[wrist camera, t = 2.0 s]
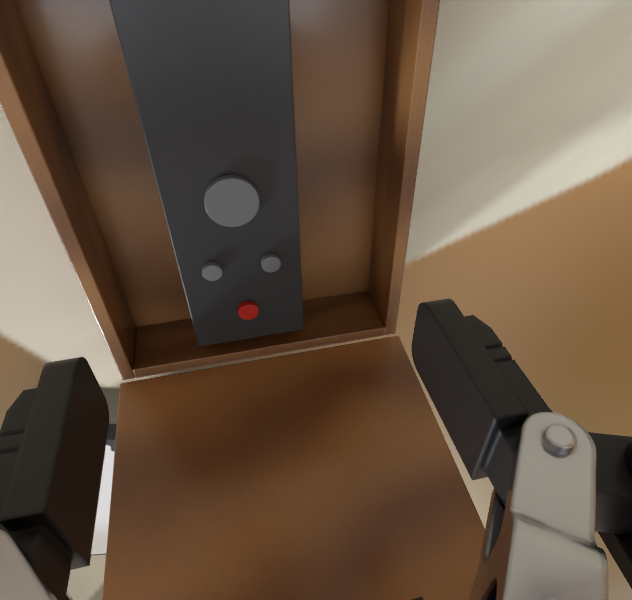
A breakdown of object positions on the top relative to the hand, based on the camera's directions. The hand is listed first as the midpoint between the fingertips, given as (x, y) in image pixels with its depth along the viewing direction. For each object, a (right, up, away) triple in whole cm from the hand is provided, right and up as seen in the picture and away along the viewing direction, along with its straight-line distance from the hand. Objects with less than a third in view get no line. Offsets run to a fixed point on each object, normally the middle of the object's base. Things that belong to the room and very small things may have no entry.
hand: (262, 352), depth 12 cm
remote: (-2, +7, +8) cm, 11 cm away
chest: (-2, +8, +9) cm, 12 cm away
